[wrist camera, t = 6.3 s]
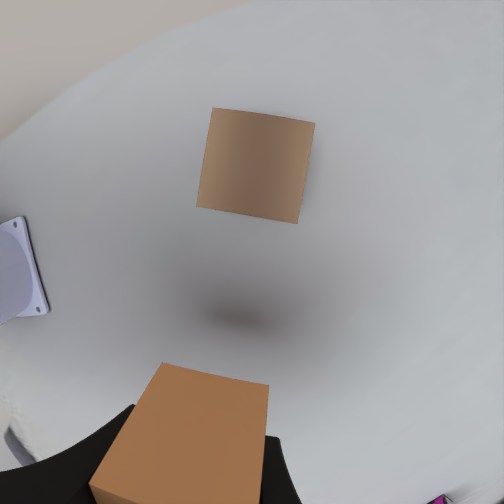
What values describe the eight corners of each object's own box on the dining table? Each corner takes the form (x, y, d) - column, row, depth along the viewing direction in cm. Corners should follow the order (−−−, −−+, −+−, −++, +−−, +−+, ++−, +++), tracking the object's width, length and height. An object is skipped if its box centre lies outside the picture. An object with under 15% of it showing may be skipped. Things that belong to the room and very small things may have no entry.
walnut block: (223, 197, 18) (196, 206, 12) (234, 129, 17) (212, 107, 11) (291, 209, 18) (297, 224, 12) (303, 141, 17) (315, 123, 11)
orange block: (161, 431, 12) (113, 537, 6) (162, 362, 11) (88, 483, 5) (250, 451, 12) (233, 569, 6) (269, 385, 11) (256, 529, 5)
